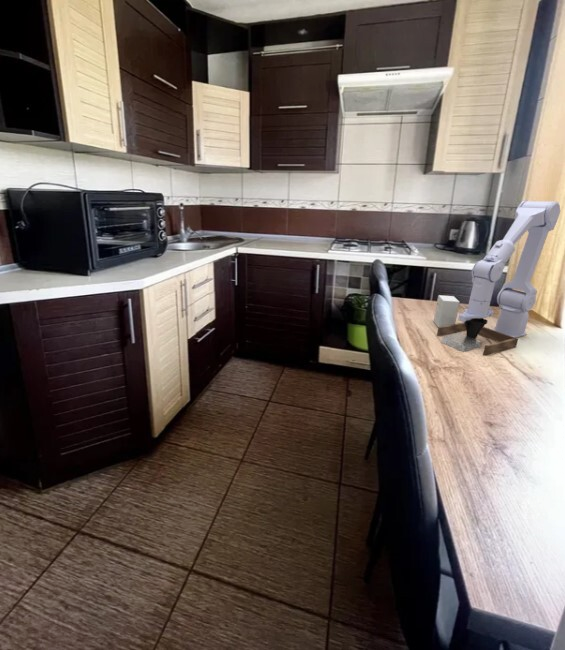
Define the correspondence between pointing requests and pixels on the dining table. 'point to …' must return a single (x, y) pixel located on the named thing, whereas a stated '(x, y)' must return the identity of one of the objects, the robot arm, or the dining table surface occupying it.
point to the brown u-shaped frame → (502, 339)
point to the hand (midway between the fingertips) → (470, 339)
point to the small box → (446, 310)
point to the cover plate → (461, 342)
